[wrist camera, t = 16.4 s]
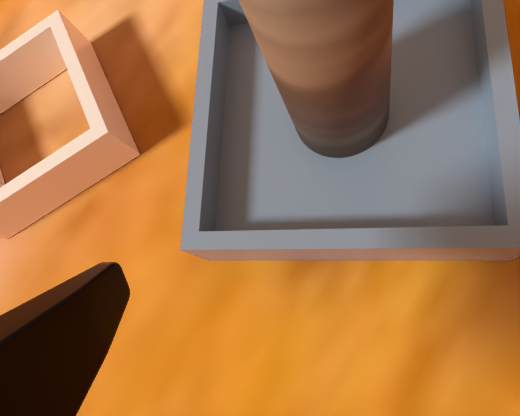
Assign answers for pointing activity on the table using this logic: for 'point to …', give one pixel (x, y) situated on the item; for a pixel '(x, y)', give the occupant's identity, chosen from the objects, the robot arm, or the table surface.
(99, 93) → the holder
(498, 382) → the table surface
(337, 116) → the pepper mill
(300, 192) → the tray
